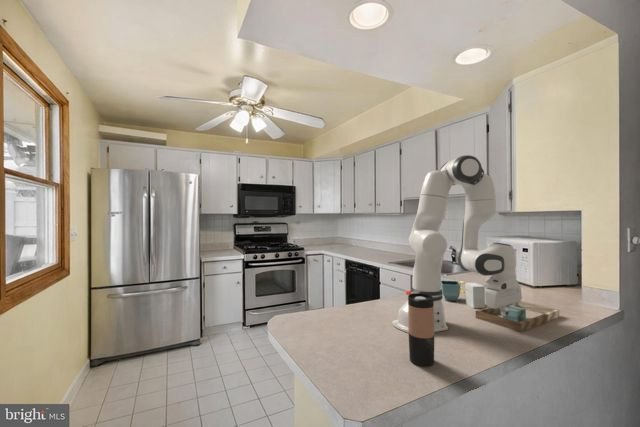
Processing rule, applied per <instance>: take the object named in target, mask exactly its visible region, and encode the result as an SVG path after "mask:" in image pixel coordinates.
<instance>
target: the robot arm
mask: <svg viewBox="0 0 640 427" xmlns="http://www.w3.org/2000/svg"><path fill="white" fill-rule="evenodd" d="M456 185H461V186H462V188H463V190H464V193H465V197H464V198H465V211H464V218H463V221H462V222H463V223H462V233H461V234H462V235H461V236H462V237H461V247H460V250H459V252H458V256H457V263H458V265H459V267H460V268H461V269H462V270H464V271H466V272H469V273H470V272H471V273H475V274H477V275H481V276H490V277H489V278H488V279H487V280H486V281H484V284H483V286H484V288H486V289H485V306H486V308H487V307H490V308H493V309H496V308H499V309H500V311H501V312H500V315H501V316H502V317H503V316H506V315H509V310H510V307H511V304H512V303H515V302H519V301H522V298H523V296H522V287H521V285H520V284H519V281H518V280H517V272H516V266H517V259H516V257H517V256H516V252H515V251H516V250H515V249H514V246H513V245H511V244H509V243H503V242H502V243H501V242H493V243H491V245H489V246H488V247H486V248H485V249H482V250H479V248H478V241H479V240H478V239H479V230H480V228H481V227H482V226H483V225H484V224H486V223H487V222H488V221H490V220H491V219H492V218H494V217H495V215H496V214H495V213H496V209H497V201H496V199H497V198H496V196H497V195H496V189H495V188H496V187H495V184H494V180H493V177H492V176H491V175H489V174H487V173H485V171H484V169H483V167H482V163H481V161H480V160H479V159H478V158H477V157H475V156H474V155H461V156H459V157H455V158H452V159H451V160H449V161H447V162H445V163H444V164H443V165H442V166H441V167H440V169H438V170H436V169H435V170H432V171H429V172H428V173H427V174H425V177H424V180H423V183H422V186H421V190H420V196H419V199H418V200H419V201H418V207H417V212H416V216H415V219H414V222H413V225H412V228H411V232H410V234H409V236H408V244H409V247H410V248H411V249H412V250H413V251H414V252H415V259H414V264H413V265H414V266H413V268H412V288H411V290H409V289H406V290H405V295H406V296H409V295H410V294H416V293H418V294H427V295H430V296H432V297H433V300H434V333H435V332H436V333H437V332H442V331H447V330H449V328H448V327H449V326H448V325H447V322H446V315H445V314H446V313H445V307H444V304H443V300H442V299H443V296H444V295H443V293H442V289H441V281H442V266H443V261H444V255H445V253H446V251H447V248H448V242H447V240H446V238H445V237H444V235H443V234H441V233H440V232H439V230H440V227H441V225H442V223H443V222H444V220H445V218H446V212H447V208H448V204H449V203H448V202H449V201H448V200H449V196H450V195H449V194H450V191H451V188H452V187H453V186H456ZM391 325H392V326H394V327H395V328H397V329H398V330H400V331H403V332H405V333H407V334H408V300H407V301H406V302H404V304H403V305H402V306H401V307H400V308H399V309H398V313H397V319H394V320H392V321H391Z"/></svg>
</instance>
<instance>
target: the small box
mask: <svg viewBox="0 0 640 427" xmlns="http://www.w3.org/2000/svg"><path fill="white" fill-rule="evenodd" d="M464 286H465V288H464V289H465V290H464V292H465V304H466V305H467V306H469V307H471V308H473V309H484V308H486V300H485V291H486V289H485V285H482V284H480V283H478V282H465V285H464Z"/></svg>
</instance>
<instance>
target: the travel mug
mask: <svg viewBox="0 0 640 427" xmlns="http://www.w3.org/2000/svg"><path fill="white" fill-rule="evenodd" d="M407 301H408V333H407V334H408V349H409V360H410V362H411V363H412V364H413V365H415V366H418V367H423V368H428V367H431V366H433V365H434V363H435V332H434V300H433V297H432V296H430V295H427V294H418V293H416V294H410V295H407Z"/></svg>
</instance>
